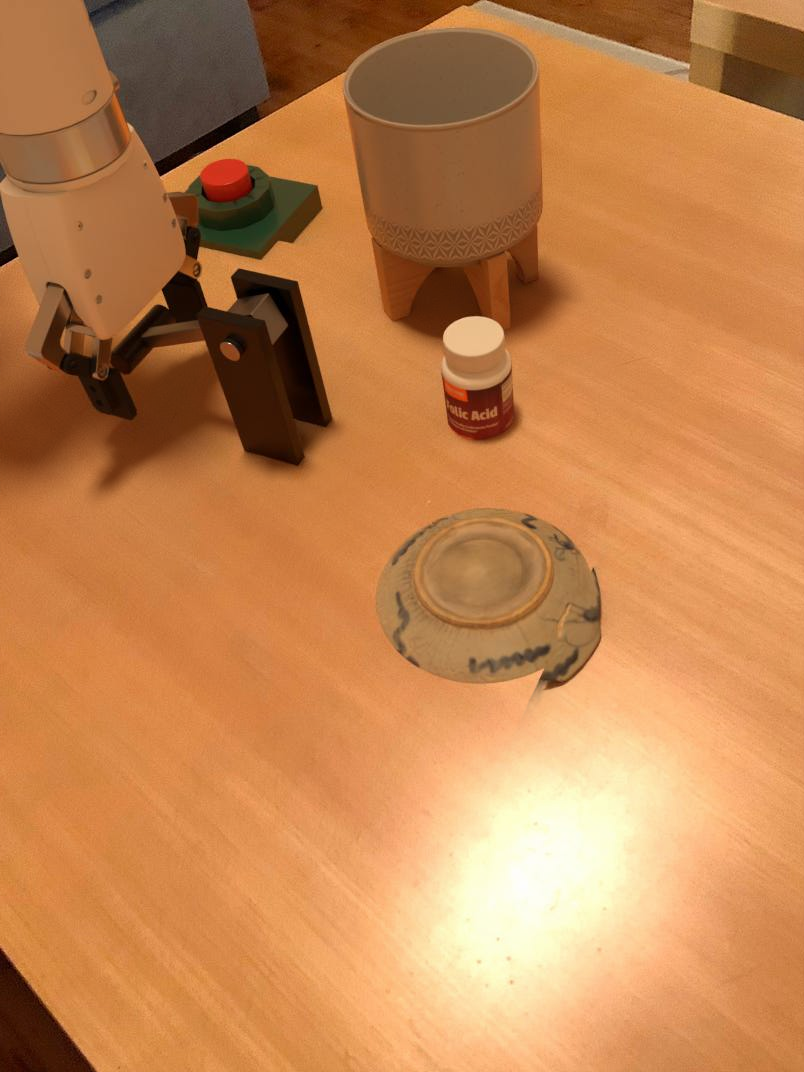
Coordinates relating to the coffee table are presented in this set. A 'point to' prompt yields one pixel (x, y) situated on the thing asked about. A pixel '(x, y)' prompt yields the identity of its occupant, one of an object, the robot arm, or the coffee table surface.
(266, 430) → the bracket
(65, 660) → the coffee table surface
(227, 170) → the button
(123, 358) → the lever
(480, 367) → the pill bottle
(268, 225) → the button box
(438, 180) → the planter
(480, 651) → the decorative bowl
